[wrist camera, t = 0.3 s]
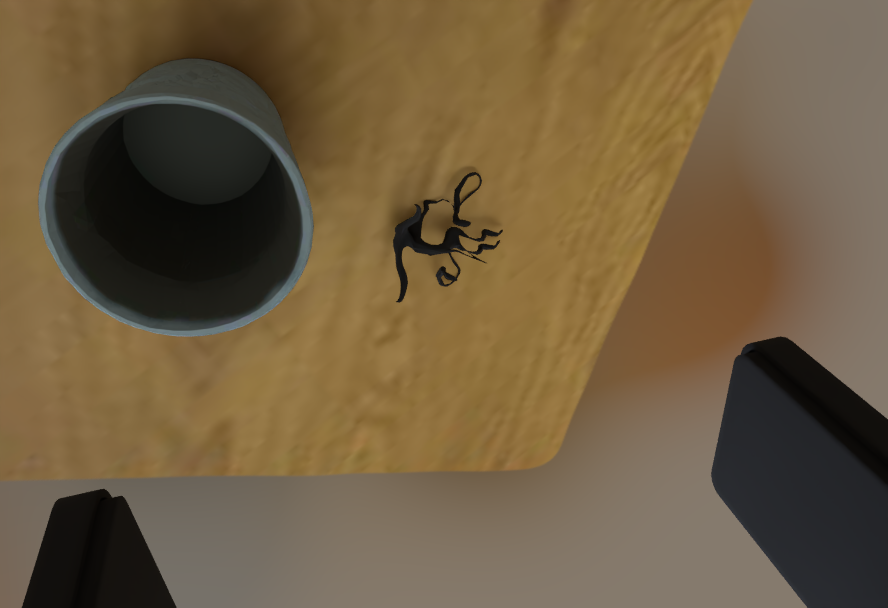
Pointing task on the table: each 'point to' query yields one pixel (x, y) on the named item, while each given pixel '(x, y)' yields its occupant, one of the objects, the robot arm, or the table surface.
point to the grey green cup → (179, 202)
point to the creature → (411, 236)
